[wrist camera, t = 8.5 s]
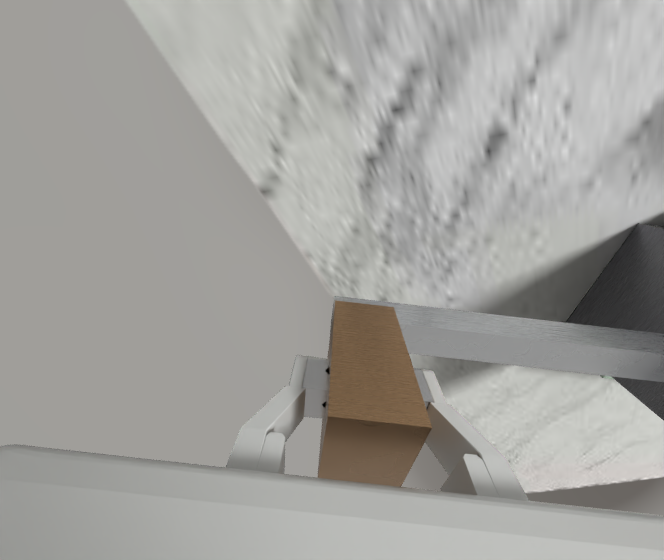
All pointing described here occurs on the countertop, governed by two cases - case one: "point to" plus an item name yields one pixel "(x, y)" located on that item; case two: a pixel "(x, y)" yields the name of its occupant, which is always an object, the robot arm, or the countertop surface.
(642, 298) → the bearing plate
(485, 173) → the countertop surface
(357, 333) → the shaft
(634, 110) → the countertop surface
